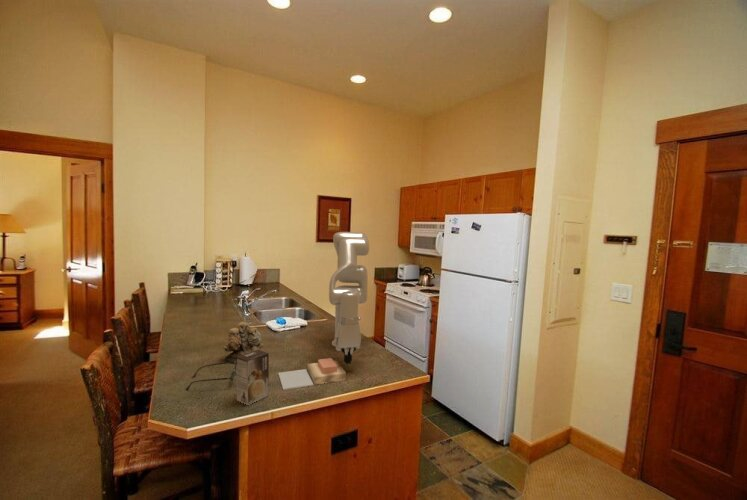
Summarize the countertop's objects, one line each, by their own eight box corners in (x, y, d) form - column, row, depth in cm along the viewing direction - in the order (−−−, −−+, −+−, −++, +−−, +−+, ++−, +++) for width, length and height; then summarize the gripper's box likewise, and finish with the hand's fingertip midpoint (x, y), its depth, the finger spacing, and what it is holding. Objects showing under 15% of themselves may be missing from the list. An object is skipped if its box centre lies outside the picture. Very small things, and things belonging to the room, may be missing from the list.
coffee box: (257, 390, 126) (257, 349, 125) (269, 395, 123) (269, 352, 122) (235, 401, 118) (236, 356, 117) (247, 406, 115) (248, 360, 114)
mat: (305, 370, 146) (306, 369, 145) (313, 385, 132) (313, 384, 132) (278, 374, 141) (278, 372, 141) (283, 390, 127) (283, 388, 127)
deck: (336, 366, 150) (336, 360, 150) (345, 380, 137) (346, 373, 137) (307, 370, 145) (307, 364, 145) (314, 385, 132) (314, 377, 132)
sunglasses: (193, 375, 138) (193, 363, 138) (237, 371, 143) (237, 360, 143) (183, 394, 123) (183, 381, 122) (233, 389, 127) (233, 376, 127)
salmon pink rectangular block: (331, 363, 147) (331, 358, 146) (337, 371, 138) (337, 366, 138) (317, 365, 144) (317, 359, 144) (322, 373, 136) (323, 367, 136)
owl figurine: (226, 367, 147) (226, 328, 145) (219, 358, 156) (219, 322, 155) (267, 358, 158) (267, 322, 157) (258, 350, 167) (258, 316, 166)
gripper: (362, 317, 150) (361, 357, 151) (329, 319, 144) (328, 361, 145) (368, 321, 143) (367, 364, 144) (334, 324, 137) (333, 368, 138)
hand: (347, 362), depth 144 cm, fingers closed
